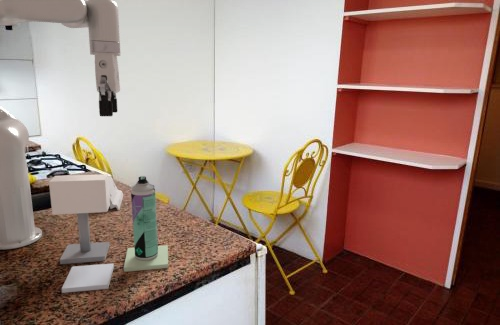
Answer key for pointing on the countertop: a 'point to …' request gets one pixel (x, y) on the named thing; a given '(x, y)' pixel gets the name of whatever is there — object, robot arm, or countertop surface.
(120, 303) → the countertop surface
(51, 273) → the countertop surface
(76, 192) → the mounted unit
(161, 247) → the green tile
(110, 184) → the white bevelled plastic case
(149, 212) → the spray can
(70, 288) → the grey square tile
